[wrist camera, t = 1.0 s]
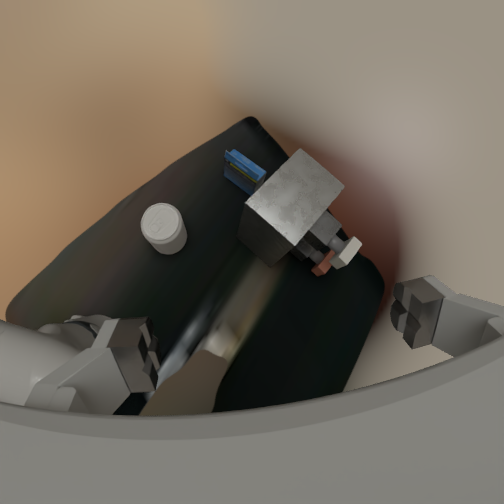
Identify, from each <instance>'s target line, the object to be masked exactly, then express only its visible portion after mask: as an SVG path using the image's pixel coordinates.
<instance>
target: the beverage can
mask: <svg viewBox="0 0 504 504" xmlns="http://www.w3.org/2000/svg"><path fill="white" fill-rule="evenodd" d="M141 230H142V233H143V235H144V237H145V238H146V239H147V240H148V241H149V242H150V244H151V245H152V246H153V247H154V248H155V249H156V250H157V251H158V252H160V253H162V254H174V253H176V252H178V251H180V250H181V249H182V248H183V246H184V245H185V243H186V240H187V232H186V229H185V226H184V223H183V220H182V217H181V214H180V213H179V211H178V210H177V209H176V208H175V207H174V206H172V205H170V204H166V203H158V204H155V205H152V206H151V207H149V208H148V209H147V210H146V211H145V213H144V215H143V217H142V220H141Z"/></svg>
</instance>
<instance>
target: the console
mask: <svg viewBox="0 0 504 504" xmlns="http://www.w3.org/2000/svg"><path fill="white" fill-rule="evenodd" d="M343 188H344V185H343V184H342V183H341V182H340V181H338V180H337V179H336V178H335V177H334V176H333V175H332V174H330V173H329V172H328V171H327V170H326V169H325V168H324V167H322V166H321V165H320V164H319V163H317V162H316V161H315V160H314V159H313V158H312V157H310V156H309V155H308V154H307V153H305V152H304V151H303V150H302V149H301V148H300V149H299V150H298V151H297V152H295V154H294V155H292V156H291V157H290V158H289V159H288V160H287V161H286V162H285V163H284V164H283V165H282V166H281V167H280V168H279V169H278V170H277V171H276V172H275V173H274V174H273V175H272V176H271V177H270V178H269V179H268V180H267V181H266V182H265V183H264V184H263V185H262V186H261V187H260V188H259V189H258V190H257V191H256V192H255V193H254V194H253V195H252V196H251V197H250V198H249V199H248V200H247V201H246V202H245V206H244V210H243V213H242V217H241V221H240V225H239V229H238V232H237V236H236V238H237V239H239V240H240V241H241V242H242V243H243V244H244V245H245V246H246V247H248V248H249V249H250V250H251V251H252V252H253V253H254V254H255V255H257V256H258V257H259V258H260V259H261V260H262V261H263V262H264V263H266V264H267V265H268V266H269V267H272V266H273V265H274V264H275V263H276V262H277V261H278V260H279V259H281V258H282V257H283V256H284V255H285V254H286V253H287V252H289V251H290V252H291V253H292V254H293V255H294V256H295V257H296V258H298V259H299V260H300V261H303V260H304V259H306V258H308V256H309V255H310V254H311V253H312V251H313V250H314V249H315V250H316V251H318V250H320V249H322V248H323V247H325V246H326V245H327V244H328V243H329V241H330V240H331V239H332V238H333V236H334V235H335V234H336V233H337V231H338V230H339V229H340V228H341V226H342V225H341V224H340V223H339V222H338V221H337V220H336V219H335V218H334V217H333V216H332V215H331V214H329V213H328V212H327V211H326V209H327V207H328V206H329V205H330V204H331V203H332V202H333V200H334V199H335V198H336V197H337V195H338V194H339V193H340V192H341V191H342V189H343Z"/></svg>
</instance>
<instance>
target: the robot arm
mask: <svg viewBox="0 0 504 504" xmlns="http://www.w3.org/2000/svg"><path fill="white" fill-rule="evenodd" d="M393 295H394V297H395V299H396V300H395V301H394V302H393V304H392V305H391V312H390V315H391V321H392V324H393V326H394V327H395V329H396V330H397V331H399V332H401V333H404V334H403V339H404V340H405V341H406V343H407V344H408V345H409V346H410V348H411V349H415V348H418V347H422V346H425V345H429V344H432V345H433V346H435V347H437V348H439V349H440V350H442V351H444V352H446V353H448V354H450V355H451V356H453V357H454V358H451V359H449V360H446V361H444V362H441V363H438V364H435V365H433V366H430V367H427V368H424V369H422V370H419V371H416V372H413V373H410V374H407V375H403V376H400V377H397V378H394V379H391V380H387V381H384V382H380V383H377V384H373V385H370V386H366V387H362V388H358V389H355V390H351V391H346V392H342V393H338V394H334V395H329V396H325V397H320V398H315V399H310V400H305V401H299V402H294V403H288V404H282V405H276V406H269V407H262V408H255V409H247V410H238V411H229V412H218V413H206V414H190V415H167V416H166V415H165V416H128V415H112V414H113V413H114V412H115V411H116V409H117V408H118V407H119V406H120V405H121V404H122V403H123V402H124V400H125V399H126V398H127V397H128V396H129V395H130V392H152V391H156V386H157V380H158V375H157V372H156V370H157V369H159V368H160V365H161V350H160V345H159V342H158V339H157V338H155V337H154V336H153V331H154V326H153V323H152V320H151V319H150V318H149V317H140V318H122V319H111V318H109V317H107V316H103V315H92V316H87V317H84V316H81V315H74V316H72V317H71V319H70V320H66V321H65V322H64V323H62V324H47V325H44V326H42V327H41V328H39V329H38V330H37V331H35V330H31V329H28V328H25V327H22V326H18V325H14V324H11V323H8V322H6V321H3V320H0V504H504V306H501V305H497V304H494V303H490V302H487V301H483V300H480V299H477V298H473V297H470V296H466V295H463V294H456V293H455V292H454V291H452V290H451V289H450V288H449V287H447V286H446V285H445V284H444V283H442V282H441V281H439V280H438V279H437V278H436V277H435V276H432V275H429V276H425V277H421V278H417V279H413V280H408V281H404V282H400V283H396V285H395V287H394V291H393Z"/></svg>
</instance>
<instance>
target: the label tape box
mask: <svg viewBox="0 0 504 504" xmlns="http://www.w3.org/2000/svg"><path fill="white" fill-rule="evenodd" d="M265 175H266V171H264V170H263V169H262V168H260V167H259V166H257V165H256V164H255V163H253V162H252V161H250V160H249V159H248V158H246V157H245V156H243V155H242V154H241V153H239V152H238V151H236V150H235V149H234V150H232V151H231V152H230V153H229V152H228V151H227V150H226V152H225V156H224V176H225V177H226V178H228V179H229V180H230V181H232V182H233V183H234V184H236V185H237V186H238V187H240V188H241V189H242V190H244V191H245V192H246V193H248V194H249V195H251V196H252V195H253V194H254V193H255V192H256V191H257V190H258V189H259V188H260V187H261V186H262V184H263V181H264V178H265Z"/></svg>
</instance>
